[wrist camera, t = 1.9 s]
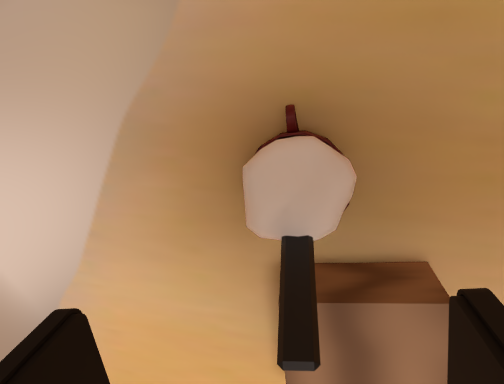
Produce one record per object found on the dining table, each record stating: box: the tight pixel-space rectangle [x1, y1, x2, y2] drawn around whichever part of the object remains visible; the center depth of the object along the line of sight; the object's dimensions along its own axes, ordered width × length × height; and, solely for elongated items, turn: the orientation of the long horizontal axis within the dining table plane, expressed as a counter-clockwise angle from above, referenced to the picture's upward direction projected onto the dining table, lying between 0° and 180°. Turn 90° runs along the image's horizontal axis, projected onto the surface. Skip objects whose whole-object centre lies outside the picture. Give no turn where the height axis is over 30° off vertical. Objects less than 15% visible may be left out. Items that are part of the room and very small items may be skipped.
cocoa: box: [243, 105, 357, 371], centre depth 18 cm, size 10×6×12 cm, turn 164°
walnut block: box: [279, 262, 450, 384], centre depth 25 cm, size 10×10×5 cm
